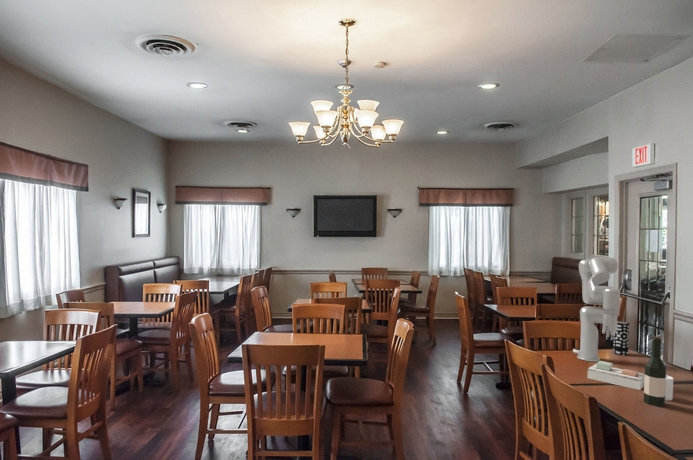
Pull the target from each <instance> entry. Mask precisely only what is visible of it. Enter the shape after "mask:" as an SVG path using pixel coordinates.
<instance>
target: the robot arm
mask: <svg viewBox="0 0 693 460" xmlns="http://www.w3.org/2000/svg"><path fill="white" fill-rule="evenodd" d="M618 268H619V264H618V261H617V260H616V259H615V258H614V257H605V256H600V257H599V256H595V257H592V258H591V259H590V258H587V259H582V260H580V261H579V263H578V271H579V275H580V278H581V284H582V285H581V288H582V290H581V294H582V296H581V297H582V301H583V303H584V304H587V306H582V307H581V308H580V310H579V319H580V346H579V349H574V348H573V349H572V353H574V354H577V355H576V358H577V359H579V360H581V361H586V362H595V363H597V362H599V361H601V358H600V357H599V356H598V355H599V353H598V352H599V351H598V350H599V329H598V327H597V326H596V325H595V324H602V328H601V329H602V330H601V332H602V334H605V347H606V348H610V349H612V348H613V343H614V334H615V333H616V332H617V321H618V317H619V316H620V308H621V307H620V306H621V303H620V301H621V290H620V289H618V287H616V286H611V285H610V286H609V285H602V284H606V282H608V281H609V280H610V277H611V274H614V273H616V272H617V271H618ZM588 305H590V306H588ZM591 305H596V306H591ZM597 305H598V306H597ZM601 306H602V307H601Z"/></svg>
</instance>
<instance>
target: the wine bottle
mask: <svg viewBox="0 0 693 460" xmlns="http://www.w3.org/2000/svg"><path fill="white" fill-rule="evenodd" d="M651 340H652V341H651V342H652V343H651V346H652V347H651V357H650V359H648V361H647V362H646V363H645V365H644V374H645V380H644V387H643V403H645V404H647V405H650V406H655V407H665V406H666V405H665V404H666V400H665V389H666V375H667V366H666V365H665V363H664V361H663V360H662V358H661V354H662V349H661V348H662V339H661V337H660V336H657V335H656V336H655V335H654V336H653V337H652V339H651Z"/></svg>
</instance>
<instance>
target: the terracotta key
mask: <svg viewBox="0 0 693 460" xmlns="http://www.w3.org/2000/svg"><path fill="white" fill-rule="evenodd" d="M638 372H639V371H638V370H633V369H628V368H624V370H623V371H622V374H624V375H628V376H633V377H637V376H638Z"/></svg>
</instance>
